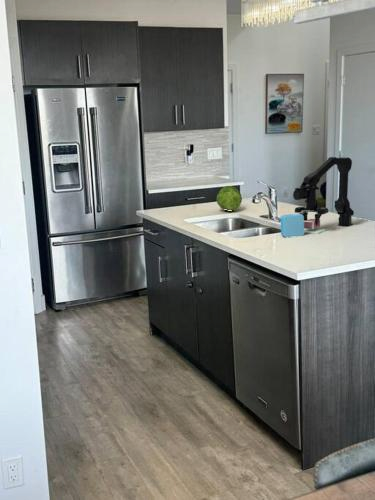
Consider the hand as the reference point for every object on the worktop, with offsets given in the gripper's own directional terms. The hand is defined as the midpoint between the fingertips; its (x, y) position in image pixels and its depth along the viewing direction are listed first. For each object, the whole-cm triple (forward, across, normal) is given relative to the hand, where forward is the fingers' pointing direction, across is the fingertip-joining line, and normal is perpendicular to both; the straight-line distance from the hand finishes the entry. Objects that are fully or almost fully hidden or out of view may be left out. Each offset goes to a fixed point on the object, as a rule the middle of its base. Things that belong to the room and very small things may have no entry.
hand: (311, 225), depth 343 cm
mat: (+3, 0, 0) cm, 3 cm away
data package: (+4, +3, +16) cm, 17 cm away
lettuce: (+4, +91, -43) cm, 101 cm away
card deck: (+1, 0, 0) cm, 1 cm away
